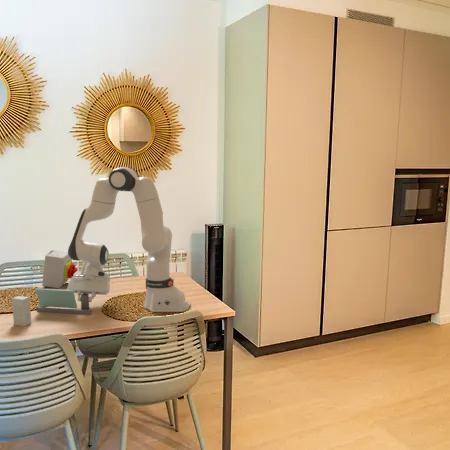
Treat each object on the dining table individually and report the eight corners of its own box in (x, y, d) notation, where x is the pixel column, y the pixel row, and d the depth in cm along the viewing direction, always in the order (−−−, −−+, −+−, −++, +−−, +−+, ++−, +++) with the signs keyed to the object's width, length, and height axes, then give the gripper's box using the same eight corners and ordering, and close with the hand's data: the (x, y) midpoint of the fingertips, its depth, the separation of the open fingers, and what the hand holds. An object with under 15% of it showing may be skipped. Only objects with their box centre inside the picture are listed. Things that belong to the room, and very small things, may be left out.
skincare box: (31, 323, 205) (30, 296, 203) (25, 326, 201) (23, 299, 199) (20, 321, 206) (18, 295, 205) (13, 324, 202) (11, 298, 201)
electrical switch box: (68, 292, 256) (72, 257, 253) (41, 288, 256) (45, 253, 253) (77, 284, 271) (80, 251, 268) (51, 280, 270) (54, 247, 267)
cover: (73, 290, 214) (72, 291, 213) (77, 307, 219) (76, 308, 218) (36, 288, 216) (35, 289, 215) (41, 305, 221) (40, 306, 220)
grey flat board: (100, 306, 228) (99, 303, 227) (90, 314, 216) (89, 311, 216) (47, 303, 231) (47, 300, 231) (35, 311, 220) (35, 307, 220)
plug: (90, 308, 224) (90, 293, 223) (87, 311, 220) (86, 296, 219) (83, 308, 225) (82, 293, 224) (79, 310, 221) (78, 295, 220)
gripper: (69, 271, 228) (61, 297, 220) (109, 273, 226) (102, 299, 218) (74, 278, 233) (66, 303, 225) (113, 280, 231) (106, 305, 223)
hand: (84, 301), depth 221 cm, fingers closed on plug, 4 cm apart
